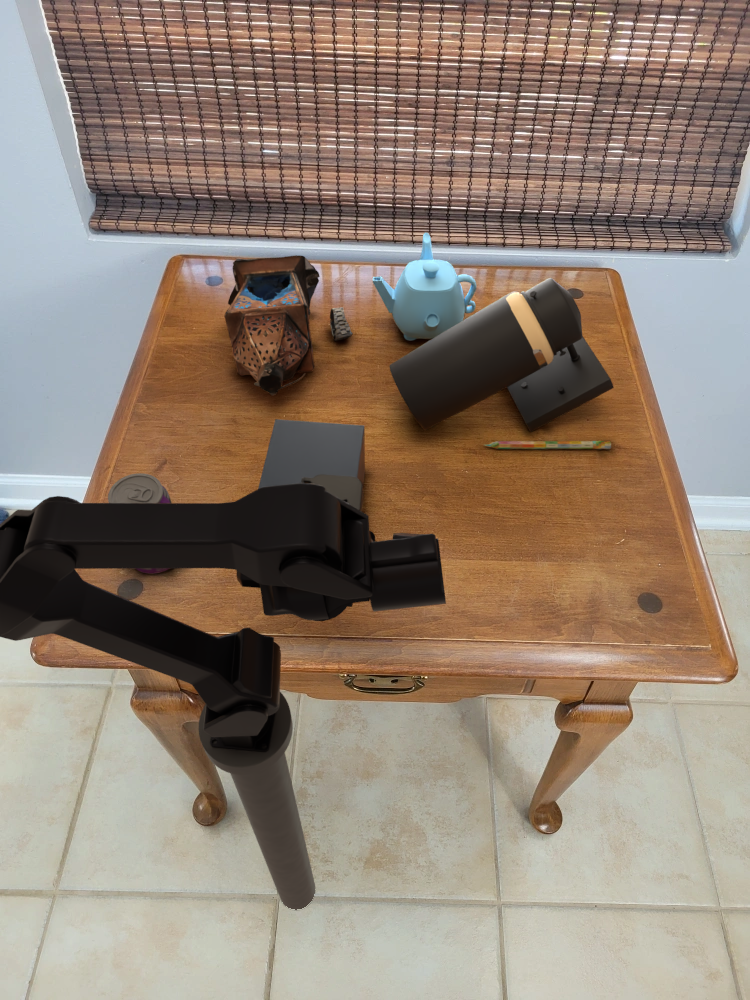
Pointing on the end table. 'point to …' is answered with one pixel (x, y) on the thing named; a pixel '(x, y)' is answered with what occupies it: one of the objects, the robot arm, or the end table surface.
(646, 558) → the end table surface
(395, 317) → the teapot
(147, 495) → the beverage can
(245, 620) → the end table surface
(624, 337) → the end table surface
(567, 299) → the light fixture
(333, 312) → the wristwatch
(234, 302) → the lantern
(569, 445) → the pencil
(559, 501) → the end table surface
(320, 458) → the cabinet
